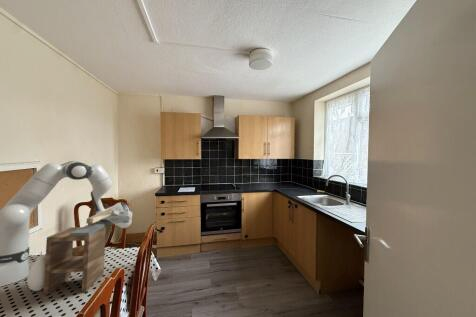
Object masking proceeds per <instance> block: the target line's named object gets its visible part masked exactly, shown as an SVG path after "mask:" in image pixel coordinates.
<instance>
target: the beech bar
mask: <svg viewBox="0 0 476 317" xmlns="http://www.w3.org/2000/svg"><path fill="white" fill-rule="evenodd" d="M112 210H115V209H108V210H106V211H104V212H101V213H99V214H97V215H96V214H95V215H92V216H90V217H87V218H86V224H94V223H97V222H100V221H99V220H101V219H103V218H105V217H107V216H109V215H111V214H112Z"/></svg>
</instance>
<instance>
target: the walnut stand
mask: <svg viewBox="0 0 476 317" xmlns="http://www.w3.org/2000/svg"><path fill="white" fill-rule="evenodd" d="M82 227H83V226H81V227H80V226H78V227H77V226H74V227H68V228H66V229H63V230H60V231H58V232H56V233H54V234H51V235H49V236H47V237H46V244H45V274H44V288H43V292H42V293H43V294H42V295H43V296H47V295H49V294H51V293H52V292H53V291H54V290H55V289H57V288H58V287H59V286H61V285H62V284H63V283H65V282H66V281H67V280H68V279H70V278H71V277H72V273H79V272H81V273H82V277H81V280H82V281H81V293H87V292H88V291H89V290H90V287H91V286H92V285H93V284H94V283H95V282H96V281H97V282H98V281H99V280H100V279H101V278H102V275H103V276H104V271H105V270H104V268H105V267H104V266H105V250H106V247H105V246H106V228H107V227H106V226H104V227H103V228H102V229H100V230H98V231H96V232H95V233H93V234H91V235H89V236H70V233H72V232H74V231H76V230H78V229H80V228H82ZM78 241H79V242H80V241H81V242H83V245H84V256H72V250H73V248H74V247H73V245H74V242H78ZM99 278H100V279H99ZM97 282H96V283H97ZM96 283H95V284H96ZM95 284H94V285H95ZM94 285H93V286H94ZM93 286H92V287H93ZM92 287H91V288H92Z"/></svg>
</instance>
